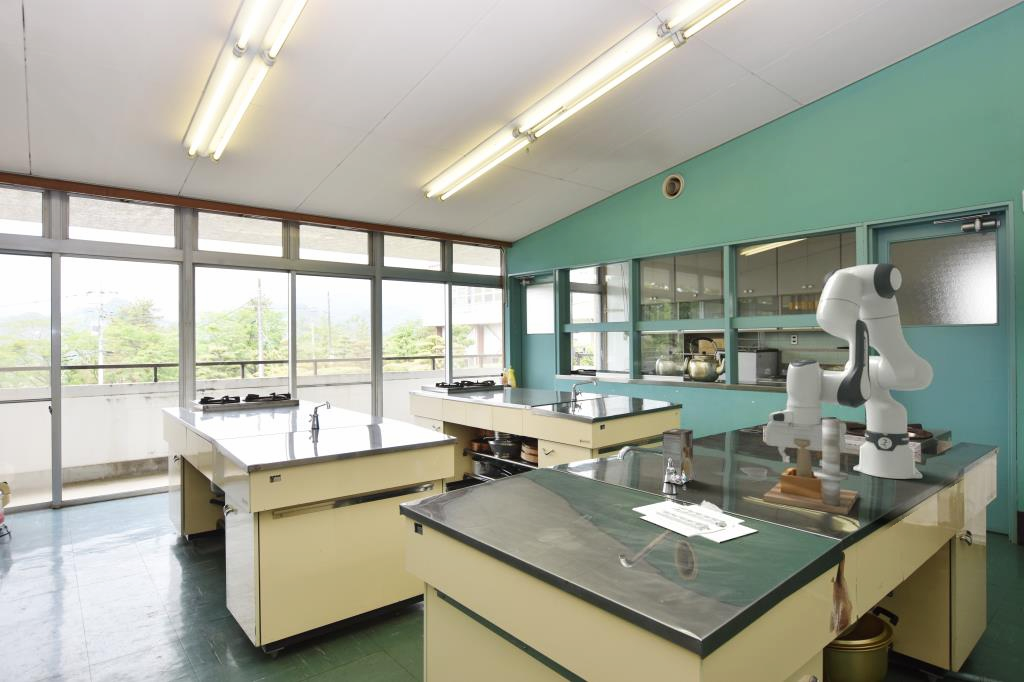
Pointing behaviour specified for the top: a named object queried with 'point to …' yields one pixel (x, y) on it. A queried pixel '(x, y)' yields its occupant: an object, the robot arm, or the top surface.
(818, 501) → the rosette stand
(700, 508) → the stacked white papers
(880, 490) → the top surface
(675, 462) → the coffee box
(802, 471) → the handle
